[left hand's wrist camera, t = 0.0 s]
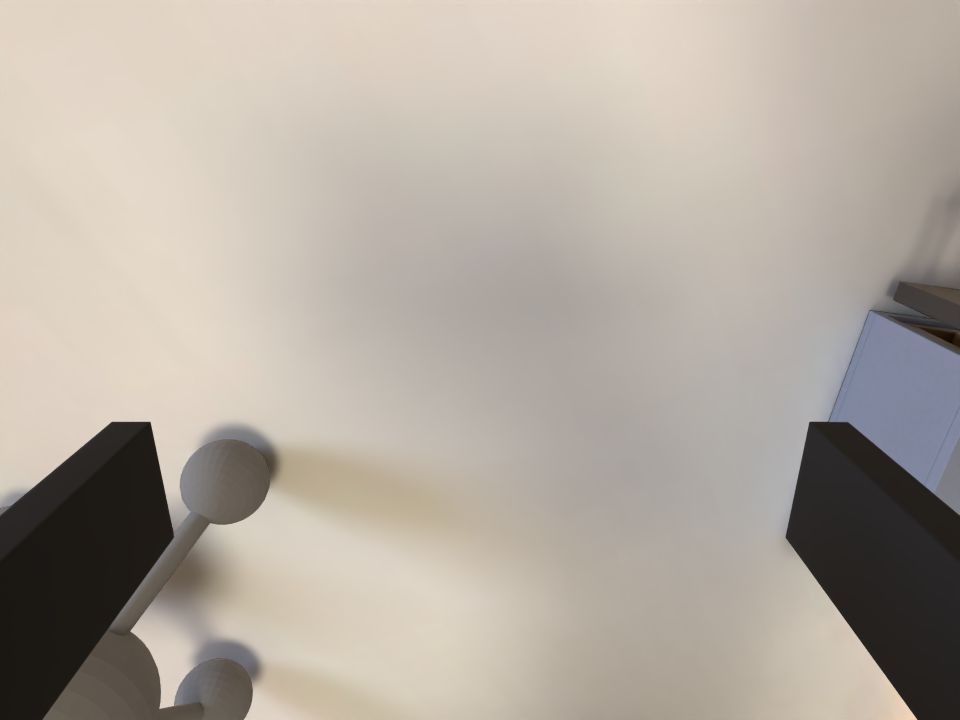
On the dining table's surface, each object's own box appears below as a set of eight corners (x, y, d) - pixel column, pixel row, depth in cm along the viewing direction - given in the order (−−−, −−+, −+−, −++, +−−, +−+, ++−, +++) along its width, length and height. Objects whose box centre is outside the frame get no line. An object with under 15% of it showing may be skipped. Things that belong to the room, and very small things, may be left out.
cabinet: (869, 309, 41) (989, 370, 31) (966, 323, 41) (1114, 386, 32) (785, 537, 47) (863, 645, 37) (869, 546, 47) (968, 656, 38)
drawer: (934, 188, 37) (1058, 208, 29) (1021, 201, 38) (1166, 224, 30) (813, 507, 45) (884, 592, 37) (884, 516, 45) (971, 602, 37)
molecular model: (403, 529, 47) (288, 1155, 19) (240, 700, 53) (-32, 1366, 25) (114, 332, 41) (-664, 797, 13) (-31, 548, 47) (-776, 1182, 19)
